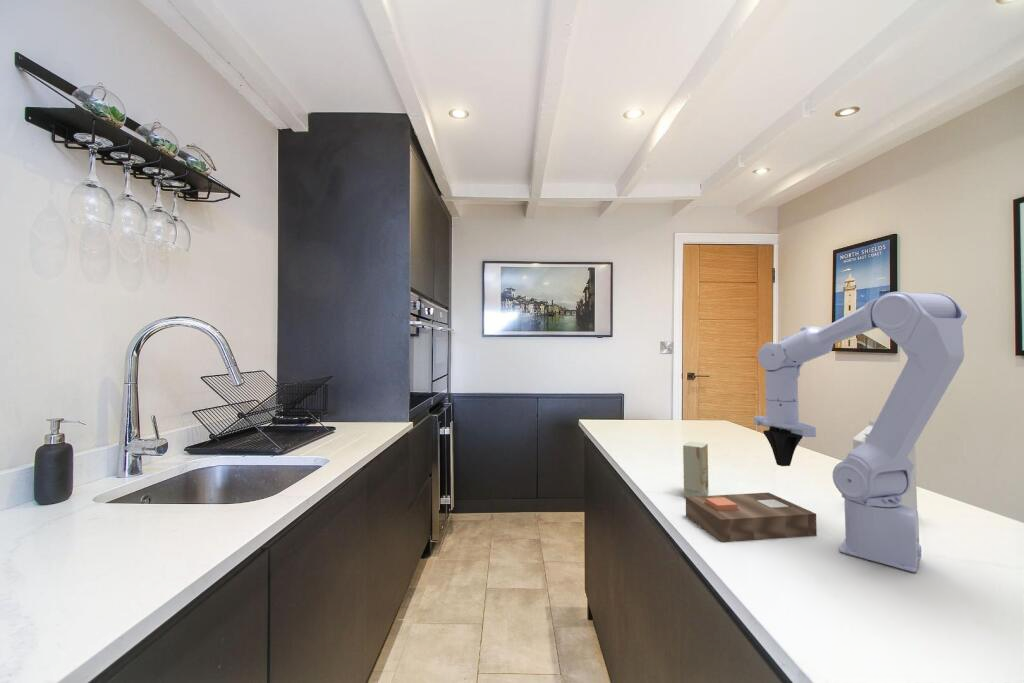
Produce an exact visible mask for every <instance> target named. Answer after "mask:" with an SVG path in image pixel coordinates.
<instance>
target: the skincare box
mask: <svg viewBox="0 0 1024 683" xmlns="http://www.w3.org/2000/svg"><path fill="white" fill-rule="evenodd" d="M682 455H683V457H682V460H683V461H682V462H683V497H684V498H686V497H694V496H709V494H710V492H709V457H708V456H709V451H708V443H705V442H700V441H699V442H698V441H697V442H695V441H688V442H686V443H685V444H683V446H682Z"/></svg>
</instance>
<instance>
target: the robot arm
mask: <svg viewBox="0 0 1024 683" xmlns="http://www.w3.org/2000/svg"><path fill="white" fill-rule="evenodd" d="M967 318H968V314H967V313H966V312H965V311H964V309H963V308H962V306H961V305H960V304H959V303H958V302H957V300H956V299H955V298H953V297H952V296H950V295H948V294H944V293H938V292H937V293H936V292H935V293H914V292H913V293H912V292H910V293H909V292H905V291H903V292H902V291H891V292H888V293H886V294H883V295H882V296H880V297H877V298H874V299H871V300H868V301H867V302H866V303H865V304H864V305H863V306H862V307H858V309H856V310H854V311H853V312H850V313H848V314H846V315H845V316H843V317H841V318H839V319H837V320H835V321H834V322H831V323H830V324H828V325H825V326H824V327H819V326H815V325H814V326H813V325H812V326H811V325H810V326H809V325H805V326H802V327H801V328H800V329H799V330H800V332H797V333H795V334H793V335H791V336H784V337H783V338H781V341H779V342H778V343H777V342H766V343H765V344H764V345H762V346H761V347H760V349H759V350H758V354H757V355H758V356H757V358H758V363H759V365H760V367H761V368H763V369H764V370H765V374H764V376H765V379H764V380H765V409H766V410H765V412H766V413H765V416H763V415H756V416H755V415H754V416H753V424H754V426H761V427H767V428H768V429H767V430H763V435H764V436H765V438H766V439H767V441H768V443H769V445H770V448H771V449H772V450H771V451H772V453H773V456H774V460H775V464H776V465H777V466H780V467H790V466H791V463H792V461H793V457H794V454H795V451H796V448H797V446H798V444H799V443H800V442H801V440H803V439H802V438H803V437H805V438H817V431H816V430H817V428H816V426H812V425H809V424H806V423H803V422H801V421H799V419H800V418H799V387H798V386H799V384H798V382H799V379H798V378H799V376H800V375H801V373H800V371H801V368H802V367H803V365H804V363H807V362H809V361H812V360H814V359H816V358H819V357H822V356H825V355H826V354H829V353H830V352H832V349H833V348H834V344H837V343H839V342H842V341H844V340H848V339H850V338H852V337H853V338H854V337H855V336H859V335H861V334H864V333H867V332H870V331H872V330H874V329H879V330H880V331H881V332H882V333H884V334H885V335H886V336H887V337H888V338H890V339H891V340H892V341H893V342H894V343H895V344H896V345H898V346H899V347H900V348H901V349H902V351H903V352H904V353H905V355H906V357H907V361H906V363H905V364H904V366H903V368H902V370H901V373H900V374H899V376H898V378H897V379H896V382H895V384H894V385H893V388H892V390H891V391H890V393H889V395H888V397H887V399H886V401H885V403H884V405H883V407H882V408H881V411H880V413H879V414H878V416H877V418H876V420H875V421H874V422H875V424H874V426H873V428H872V430H871V431H870V433H869V435H868V437H867V439H866V441H865V442H864V443H863V444H861V445H860V446H858V447H857V448H855V449H854V450H853V449H852V450H850V451H848V453H847V456H846V457H845V459H844V460H842V461H840V462H839V463H837V464H836V465H835V466H834V468H833V470H832V480H833V483H834V486H835V487H836V489H837V490H838V491H839V493H840V494H841V498H844V526H845V528H844V529H845V530H844V531H845V539H844V540H843V542H842V543H841V545H840V546H839V548H838V551H839V552H840V553H843V554H847V555H849V556H853V557H857V558H861V559H864V560H869V561H871V562H876V563H879V564H883V565H886V566H890V567H893V568H897V569H901V570H904V571H908V572H911V573H917V571H918V568H919V563H920V559H921V558H922V545H921V544H920V525H919V522H920V521H919V520H920V519H919V511H918V508H917V509H914V508H910V507H906V506H903V505H901V504H900V502H902V495H904V494H905V493H907V492H908V490H909V489H910V486H911V477H910V476H911V471H912V469H913V468H914V464H913V463H912V461H911V460H910V459H909V458H908V455H909V453H910V452H911V450H912V448H913V446H915V445H916V443H917V441H918V439H919V437H920V436H921V434H922V432H923V431H924V429H925V428H926V426H927V424H928V422H929V420H930V419H931V418H932V415H933V413H934V411H935V410H936V409H937V406H938V405H939V403H940V402H941V400H942V398H943V396H944V395H945V393H946V391H947V389H948V388H949V385H950V384H951V382H952V381H953V379H954V377H955V376H956V374H957V372H958V370H959V369H960V367H961V365H962V363H963V361H964V358H965V351H964V350H965V349H964V336H963V325H964V323H965V321H966V320H967Z"/></svg>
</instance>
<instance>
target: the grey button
mask: <svg viewBox="0 0 1024 683" xmlns="http://www.w3.org/2000/svg"><path fill="white" fill-rule="evenodd" d="M756 501H757V502H759V503H761V504H763V505H765V506H767V507H769V508H784V507H789V506H787V505H785V504H783V503H781V502H779V501H777V500H774V499H771V500H756Z"/></svg>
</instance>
